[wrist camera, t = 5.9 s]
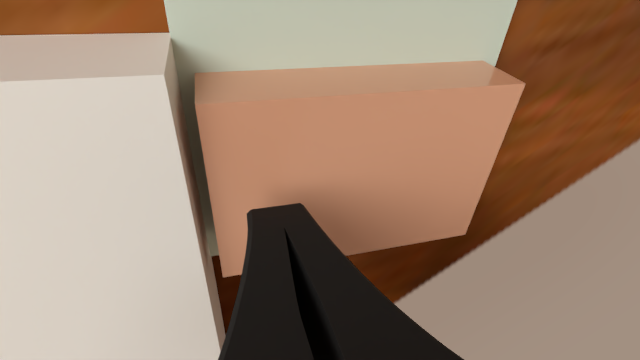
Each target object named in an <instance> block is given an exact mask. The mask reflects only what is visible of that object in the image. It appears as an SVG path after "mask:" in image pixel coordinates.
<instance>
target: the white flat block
mask: <svg viewBox="0 0 640 360" xmlns="http://www.w3.org/2000/svg"><path fill="white" fill-rule="evenodd" d="M225 337H226V335H225V329H224V324H223V318H222V313H221V307H220V301H219V296H218V290H217V285H216V279H215V274H214V268H213V262H212V257H210V251H209V246H208V240H207V235H206V229H205V224H204V218H203V213H202V207H201V202H200V196H199V191H198V185H197V180H196V174H195V169H194V163H193V158H192V152H191V147H190V141H189V136H188V130H187V125H186V119H185V114H184V108H183V103H182V97H181V92H180V87H179V81H178V76H177V70H176V65H175V59H174V54H173V48H172V43H171V37H170V33H127V34H65V35H2V36H0V360H218V358H219V355H220V352H221V349H222V346H223V343H224V340H225Z"/></svg>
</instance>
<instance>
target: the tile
mask: <svg viewBox="0 0 640 360" xmlns="http://www.w3.org/2000/svg"><path fill="white" fill-rule="evenodd" d="M524 86H525V83H524V82H522V81H520V80H518V79H516V78H514V77H512V76H511V75H509V74H507V73H505V72H503V71H501V70H500V69H498V68H496V67H494V66H492V65H490V64H488V63H487V62H485V61H483V60H482V61H459V62H436V63H413V64H389V65H366V66H343V67H320V68H297V69H274V70H250V71H227V72H204V73H195V109H196V115H197V121H198V127H199V133H200V140H201V146H202V152H203V158H204V164H205V170H206V177H207V183H208V189H209V195H210V201H211V207H212V214H213V220H214V226H215V232H216V238H217V244H218V251H219V257H220V263H221V269H222V275H223V278H224V277H230V276H235V275H241V274H242V270H243V264H244V259H245V253H246V245H247V234H248V225H247V213H248V212H249V211H250V210H251V209H258V208H266V207H273V206H281V205H288V204H295V203H301V204H302V205H304V206H305V208H306V209H307V210H308V212H309V213H310V214H311V216H312V217H313V218H314V220H315V221H316V222H317V223H318V225H319V226H320V227H321V228H322V230H323V231H324V232H325V233H326V234H327V236H328V237H329V238H330V239H331V240H332V242H333V243H334V244H335V245H336V246H337V247H338V248H339V249H340V251H341V252H342V253H343V254H344V255H345V256H348V255H353V254H359V253H365V252H370V251H376V250H381V249H387V248H393V247H398V246H404V245H410V244H415V243H421V242H426V241H432V240H438V239H443V238H449V237H455V236H460V235H465V234H466V231H467V229H468V226H469V224H470V221H471V219H472V216H473V214H474V211H475V209H476V206H477V204H478V201H479V199H480V196H481V194H482V191H483V189H484V186H485V184H486V181H487V179H488V176H489V174H490V171H491V169H492V166H493V164H494V161H495V159H496V156H497V154H498V151H499V149H500V146H501V144H502V141H503V139H504V136H505V134H506V131H507V129H508V126H509V124H510V121H511V119H512V116H513V114H514V111H515V109H516V106H517V104H518V101H519V99H520V96H521V94H522V91H523V89H524Z"/></svg>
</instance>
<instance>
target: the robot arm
mask: <svg viewBox="0 0 640 360" xmlns="http://www.w3.org/2000/svg"><path fill="white" fill-rule="evenodd" d="M247 225H248V234H247V245H246V253H245V259H244V264H243V270H242V275H241V281H240V285H239V289H238V293H237V297H236V301H235V305H234V309H233V312H232V316H231V320H230V323H229V327H228V330H227V333H226V337H225V340H224V343H223V346H222V349H221V352H220V355H219V358H218V360H464V359H462V358H461V357H459V356H458V355H457V354H455V353H454V352H452V351H451V350H450V349H448V348H447V347H446V346H444V345H443V344H442V343H440V342H439V341H437V340H436V339H435V338H434V337H433V336H431V335H430V334H429V333H428V332H426V331H425V330H424V329H423V328H421V327H420V326H419V325H418V324H417V323H415V322H414V321H413V320H412V319H410V318H409V317H408V316H407V315H406V314H405V313H403V312H402V311H401V310H400V309H399V308H398V307H397V306H396V305H394V304H393V303H392V302H391V301H390V300H389V299H388V298H387V297H386V296H385V295H384V294H382V293H381V292H380V291H379V290H378V289H377V288H376V287H375V286H374V285H373V284H372V283H371V282H370V281H369V280H368V279H367V278H366V277H365V276H364V275H363V274H362V273H361V272H360V271H359V270H358V269H357V268H356V267H355V266H354V265H353V264H352V262H351V261H350V260H349V259H348V258H347V257H346V256H345V255H344V254H343V253H342V252H341V251H340V249H339V248H338V247H337V246H336V245H335V244H334V243H333V242H332V240H331V239H330V238H329V237H328V236H327V234H326V233H325V232H324V231H323V230H322V228H321V227H320V226H319V225H318V223H317V222H316V221H315V220H314V218H313V217H312V216H311V214H310V213H309V212H308V210H307V209H306V208H305V206H304V205H302V204H301V203H295V204H288V205H281V206H273V207H266V208H258V209H251V210H250V211H249V212H248V213H247Z"/></svg>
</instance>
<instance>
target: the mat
mask: <svg viewBox="0 0 640 360" xmlns="http://www.w3.org/2000/svg"><path fill="white" fill-rule="evenodd" d="M516 3H517V0H164V4H165V10H166V15H167V21H168V26H169V32H170V37H171V43H172V48H173V54H174V59H175V65H176V70H177V76H178V81H179V87H180V92H181V97H182V103H183V108H184V114H185V119H186V125H187V130H188V136H189V141H190V147H191V152H192V158H193V163H194V169H195V174H196V180H197V185H198V191H199V196H200V202H201V207H202V213H203V218H204V224H205V229H206V235H207V240H208V246H209V251H210V257H211V256H217V255H219V251H218V244H217V238H216V232H215V226H214V220H213V214H212V207H211V201H210V195H209V189H208V183H207V177H206V170H205V164H204V158H203V152H202V146H201V140H200V133H199V127H198V121H197V115H196V109H195V73H204V72H227V71H250V70H274V69H297V68H320V67H343V66H366V65H389V64H413V63H436V62H459V61H482V60H483V61H485V62H487V63H488V64H490V65H492V66H494V67H495V65H496V62H497V59H498V56H499V53H500V50H501V47H502V44H503V41H504V39H505V36H506V33H507V30H508V27H509V24H510V21H511V18H512V15H513V12H514V9H515V6H516Z"/></svg>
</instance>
